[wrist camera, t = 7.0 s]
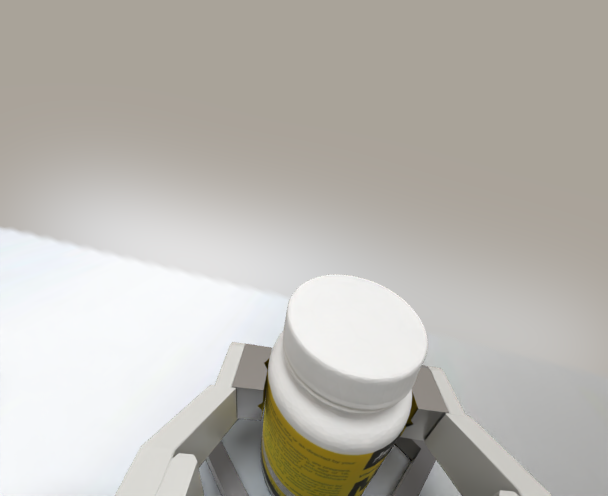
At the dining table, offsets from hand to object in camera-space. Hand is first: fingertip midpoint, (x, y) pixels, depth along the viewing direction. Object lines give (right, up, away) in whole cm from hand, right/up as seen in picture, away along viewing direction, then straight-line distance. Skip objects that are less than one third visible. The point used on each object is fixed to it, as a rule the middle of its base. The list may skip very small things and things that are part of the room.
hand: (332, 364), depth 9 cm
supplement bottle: (-1, -5, +2) cm, 5 cm away
